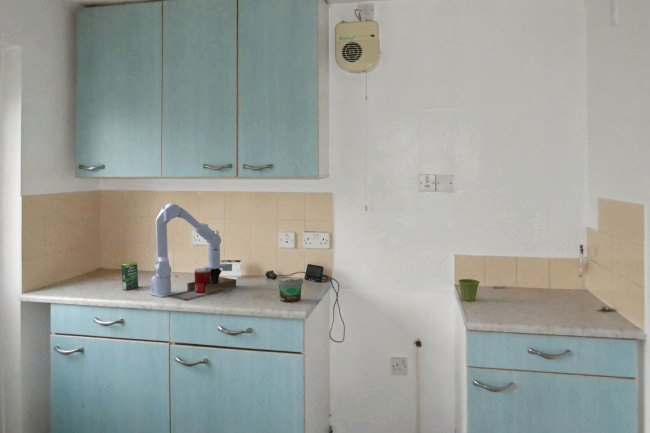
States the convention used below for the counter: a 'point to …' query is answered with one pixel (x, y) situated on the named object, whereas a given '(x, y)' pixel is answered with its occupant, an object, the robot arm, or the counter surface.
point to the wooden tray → (215, 285)
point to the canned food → (202, 280)
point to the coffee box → (129, 276)
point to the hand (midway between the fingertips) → (214, 283)
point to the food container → (290, 290)
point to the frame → (185, 298)
